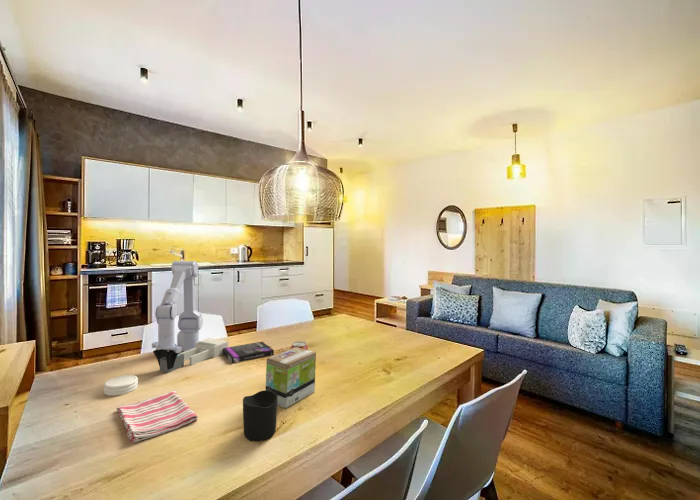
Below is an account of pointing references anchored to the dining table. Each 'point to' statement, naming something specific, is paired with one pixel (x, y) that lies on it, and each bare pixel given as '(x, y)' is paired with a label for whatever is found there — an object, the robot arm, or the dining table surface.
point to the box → (247, 352)
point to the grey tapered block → (178, 363)
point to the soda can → (299, 345)
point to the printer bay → (205, 350)
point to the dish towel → (155, 416)
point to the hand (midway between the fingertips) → (166, 367)
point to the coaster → (120, 385)
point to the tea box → (291, 375)
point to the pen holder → (260, 415)
